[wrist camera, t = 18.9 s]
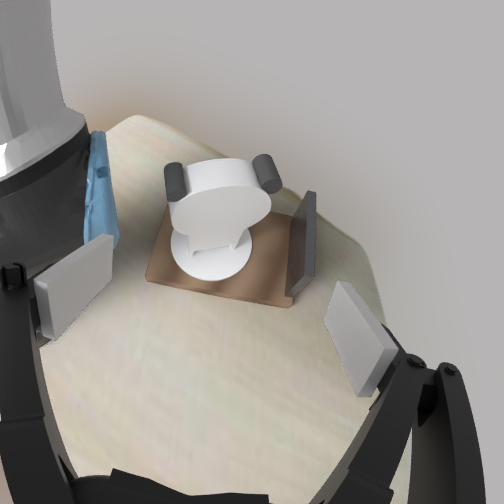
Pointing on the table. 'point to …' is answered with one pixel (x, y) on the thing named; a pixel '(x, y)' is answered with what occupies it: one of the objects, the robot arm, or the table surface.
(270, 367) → the table surface
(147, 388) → the table surface
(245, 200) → the panda figurine
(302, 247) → the bookend
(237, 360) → the table surface
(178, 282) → the shelf board
